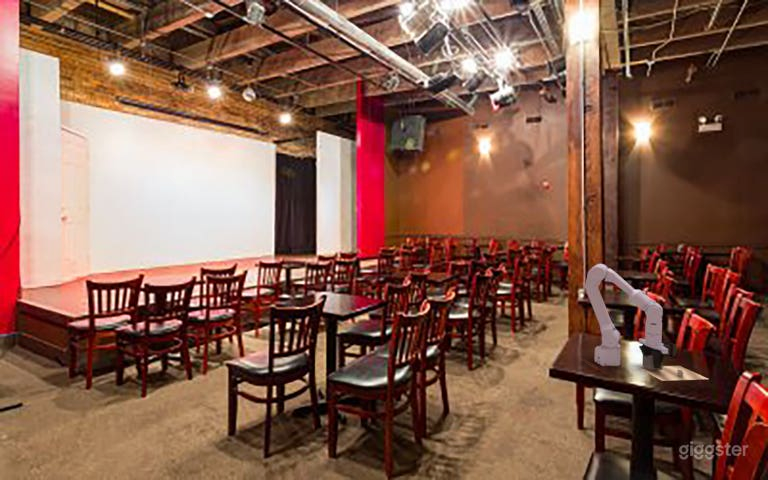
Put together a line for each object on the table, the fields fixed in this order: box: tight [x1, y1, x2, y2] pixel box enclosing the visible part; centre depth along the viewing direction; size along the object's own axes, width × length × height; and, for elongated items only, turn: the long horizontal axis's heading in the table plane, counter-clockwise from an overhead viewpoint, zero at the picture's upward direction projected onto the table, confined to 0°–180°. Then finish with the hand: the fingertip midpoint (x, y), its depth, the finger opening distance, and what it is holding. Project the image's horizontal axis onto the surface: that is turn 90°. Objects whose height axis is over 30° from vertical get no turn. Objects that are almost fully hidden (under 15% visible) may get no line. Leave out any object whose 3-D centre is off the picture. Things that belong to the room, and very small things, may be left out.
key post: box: [677, 369, 683, 378], centre depth 170 cm, size 3×1×2 cm, turn 154°
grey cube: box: [641, 354, 664, 370], centre depth 177 cm, size 5×5×5 cm
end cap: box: [653, 340, 678, 358], centre depth 200 cm, size 10×7×7 cm
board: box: [636, 365, 709, 382], centre depth 173 cm, size 19×15×2 cm
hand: (652, 365), depth 177 cm, fingers closed on grey cube, 5 cm apart
